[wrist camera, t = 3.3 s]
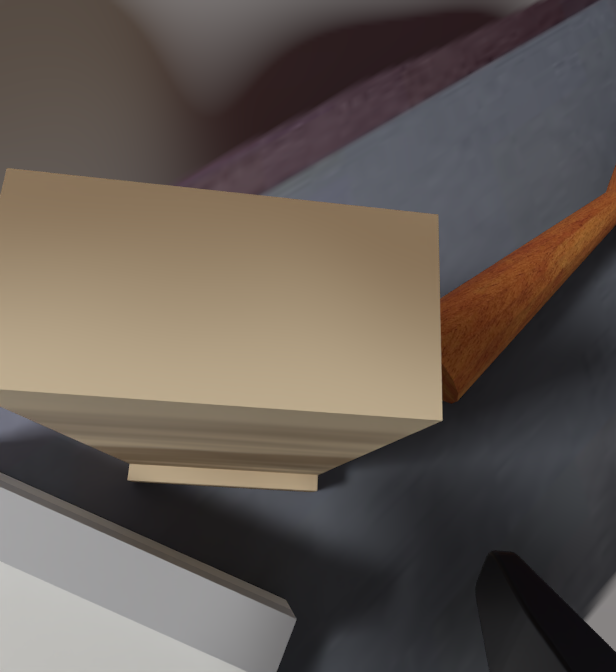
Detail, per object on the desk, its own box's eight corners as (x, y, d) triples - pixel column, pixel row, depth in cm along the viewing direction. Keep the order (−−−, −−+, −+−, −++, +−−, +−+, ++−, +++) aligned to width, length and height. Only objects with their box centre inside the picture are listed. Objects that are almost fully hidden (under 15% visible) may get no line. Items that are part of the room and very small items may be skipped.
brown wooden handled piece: (369, 267, 18) (753, -32, 22) (363, 338, 24) (672, 89, 28) (509, 406, 16) (903, 50, 20) (467, 448, 22) (784, 161, 26)
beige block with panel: (312, 492, 20) (442, 460, 7) (134, 482, 19) (-56, 427, 7) (317, 378, 21) (437, 184, 8) (149, 365, 20) (14, 136, 8)
